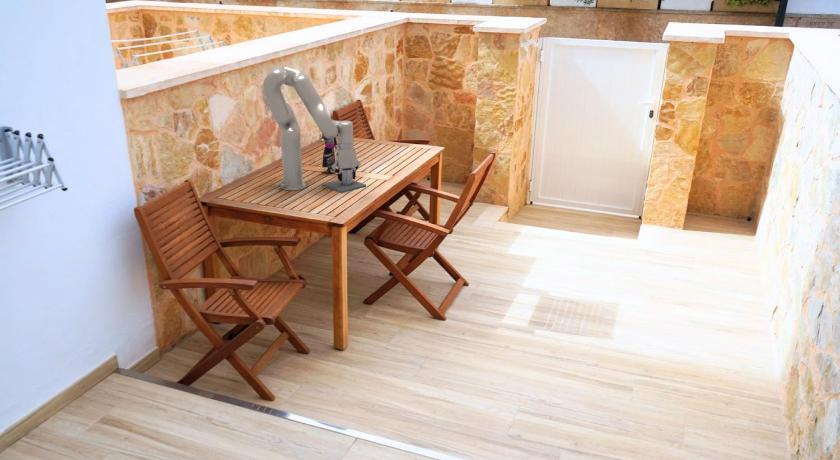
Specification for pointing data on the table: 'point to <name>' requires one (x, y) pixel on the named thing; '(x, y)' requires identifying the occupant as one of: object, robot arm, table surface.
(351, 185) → the flange
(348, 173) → the duct sleeve
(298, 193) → the table surface
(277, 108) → the robot arm
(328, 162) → the figurine
